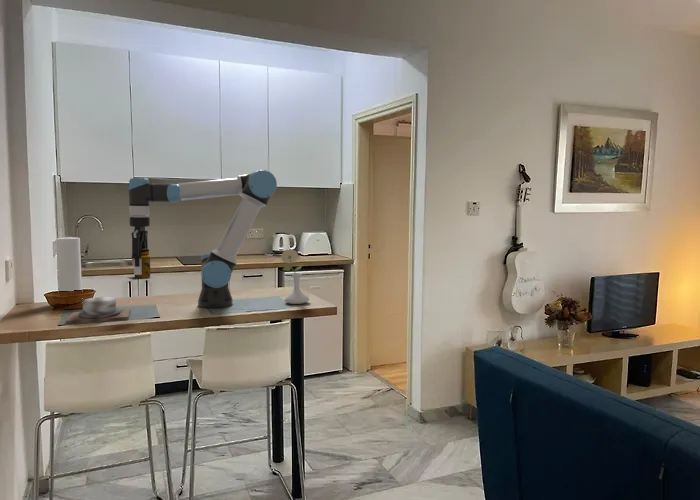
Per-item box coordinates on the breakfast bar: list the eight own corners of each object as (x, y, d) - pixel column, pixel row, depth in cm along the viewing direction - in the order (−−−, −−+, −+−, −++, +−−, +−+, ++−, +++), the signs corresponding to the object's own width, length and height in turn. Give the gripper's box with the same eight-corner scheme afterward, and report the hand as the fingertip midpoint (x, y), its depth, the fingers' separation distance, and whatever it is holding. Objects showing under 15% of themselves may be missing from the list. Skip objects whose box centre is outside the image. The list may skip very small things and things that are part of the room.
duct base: (131, 311, 222) (130, 295, 221) (128, 319, 208) (127, 301, 207) (72, 315, 215) (71, 297, 214) (66, 323, 201) (65, 305, 200)
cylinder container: (72, 305, 234) (69, 238, 232) (54, 304, 236) (51, 237, 233) (87, 301, 244) (84, 236, 241) (69, 300, 246) (66, 236, 243)
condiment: (154, 278, 215) (154, 249, 214) (134, 280, 209) (133, 250, 208) (145, 276, 220) (145, 247, 219) (125, 278, 214) (125, 248, 213)
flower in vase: (311, 301, 247) (311, 248, 245) (306, 306, 236) (306, 250, 234) (283, 300, 249) (283, 247, 246) (278, 305, 237) (277, 250, 235)
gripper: (137, 215, 222) (138, 270, 224) (122, 217, 203) (123, 276, 205) (155, 216, 222) (156, 270, 225) (142, 217, 203) (143, 276, 206)
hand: (140, 273), depth 215 cm, fingers closed on condiment, 6 cm apart
